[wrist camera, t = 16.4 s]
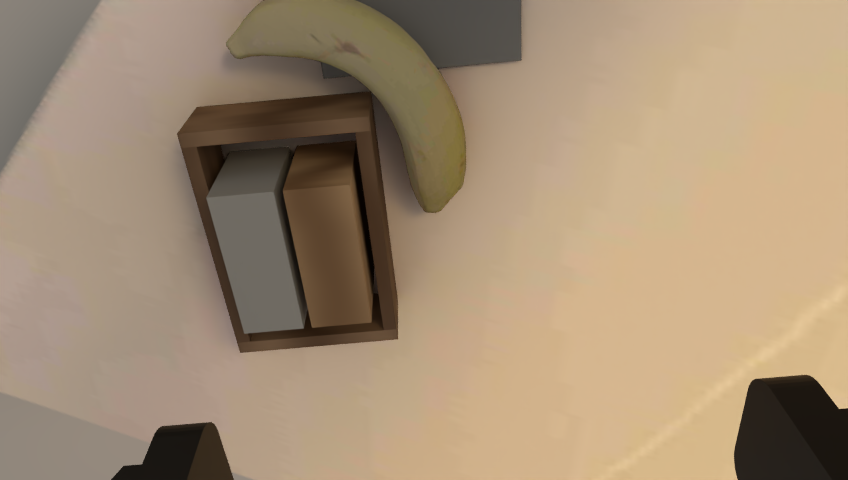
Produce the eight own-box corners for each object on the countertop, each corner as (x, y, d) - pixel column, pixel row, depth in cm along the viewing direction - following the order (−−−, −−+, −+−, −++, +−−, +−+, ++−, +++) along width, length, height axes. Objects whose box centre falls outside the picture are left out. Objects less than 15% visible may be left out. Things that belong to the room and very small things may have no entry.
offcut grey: (289, 145, 40) (273, 191, 35) (314, 271, 45) (303, 328, 40) (230, 151, 40) (206, 197, 35) (261, 276, 45) (244, 333, 40)
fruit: (518, 164, 36) (521, 132, 39) (300, -50, 31) (320, -70, 34) (426, 230, 40) (433, 197, 43) (217, 50, 35) (240, 25, 37)
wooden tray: (371, 91, 39) (368, 116, 35) (397, 301, 46) (397, 339, 43) (196, 107, 39) (177, 134, 35) (251, 314, 46) (240, 352, 43)
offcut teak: (356, 139, 40) (350, 184, 35) (374, 266, 45) (371, 322, 40) (297, 145, 40) (282, 190, 35) (321, 271, 45) (312, 327, 40)
